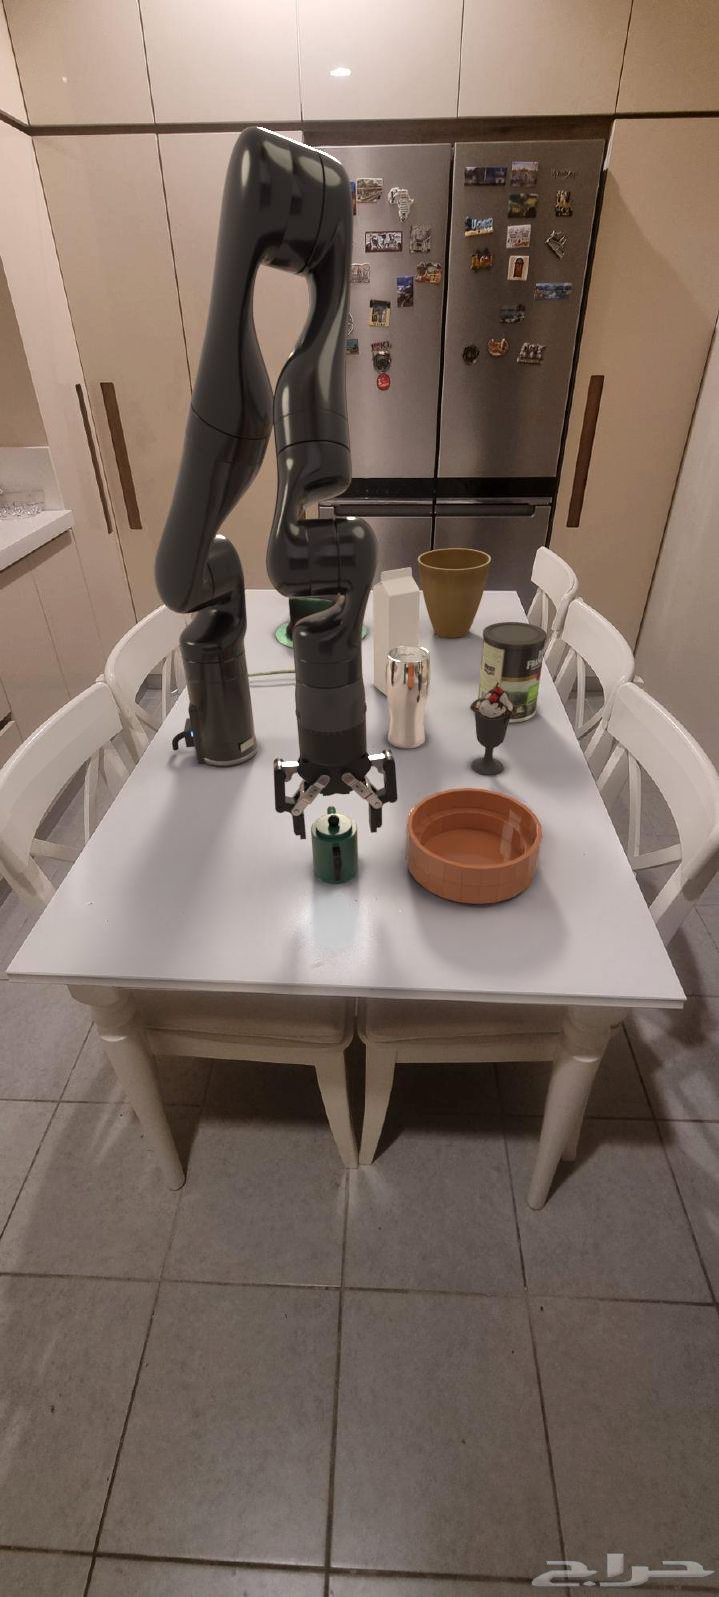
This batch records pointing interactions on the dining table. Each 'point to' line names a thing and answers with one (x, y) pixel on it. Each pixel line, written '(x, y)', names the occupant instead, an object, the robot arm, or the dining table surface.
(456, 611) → the plant pot
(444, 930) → the dining table surface
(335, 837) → the kettle
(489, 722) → the sundae
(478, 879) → the bowl
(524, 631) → the coffee can
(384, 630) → the milk
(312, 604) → the chocolate cake
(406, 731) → the beer glass
